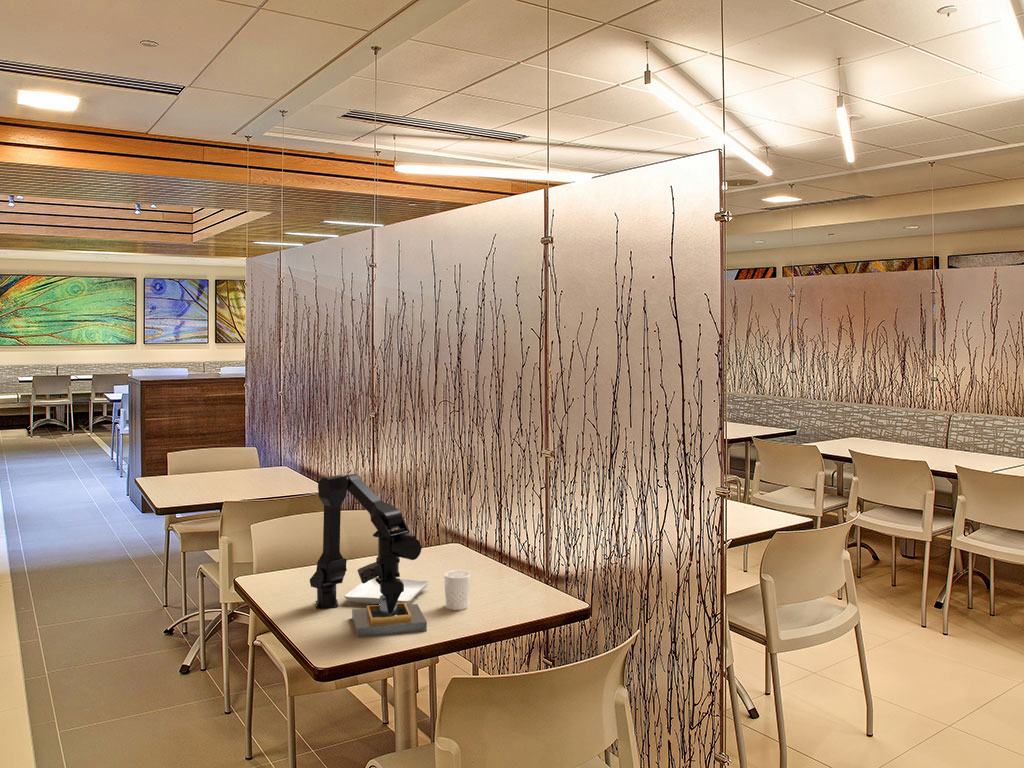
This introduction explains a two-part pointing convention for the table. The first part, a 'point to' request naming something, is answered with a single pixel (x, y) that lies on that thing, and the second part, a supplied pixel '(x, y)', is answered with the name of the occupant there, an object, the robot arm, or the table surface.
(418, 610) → the grey and gold frame
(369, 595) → the salad plate
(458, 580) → the white cup
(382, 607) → the can
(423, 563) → the table surface
